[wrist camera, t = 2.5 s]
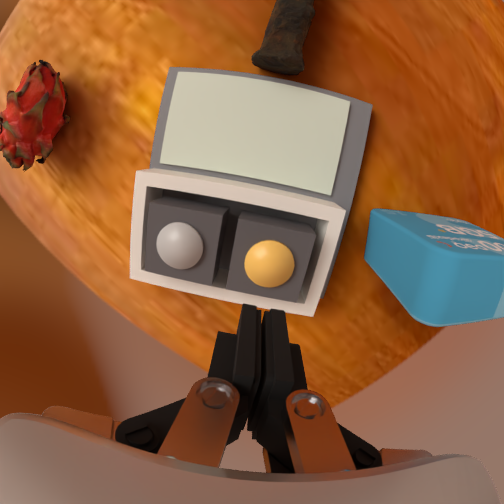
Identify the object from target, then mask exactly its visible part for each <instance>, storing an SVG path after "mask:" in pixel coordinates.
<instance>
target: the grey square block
mask: <svg viewBox="0 0 504 504" xmlns="http://www.w3.org/2000/svg"><path fill="white" fill-rule="evenodd" d="M228 211H229V207H225V206H220V205H215V204H209V203H204V202H198V201H192V200H187V199H181V198H175V197H169V196H164V197H161V198H159V199H156V200H154V201H152V202H149V212H148V223H147V237H146V255H145V271H147V272H151V273H155V274H159V275H163V276H168V277H172V278H176V279H181V280H185V281H190V282H194V283H199V284H203V285H208V286H212V284H213V282H214V279H215V277H216V274H217V272H218V270H219V264H220V258H221V252H222V246H223V240H224V234H225V228H226V222H227V216H228Z"/></svg>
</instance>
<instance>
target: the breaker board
mask: <svg viewBox="0 0 504 504" xmlns="http://www.w3.org/2000/svg"><path fill="white" fill-rule="evenodd" d="M371 110H372V104H369V103H366V102H363V101H361V100H358V99H355V98H352V97H349V96H346V95H342V94H339V93H336V92H332V91H329V90H325V89H322V88H318V87H314V86H310V85H306V84H302V83H298V82H294V81H289V80H284V79H279V78H274V77H269V76H263V75H257V74H250V73H243V72H235V71H226V70H216V69H203V68H183V67H170V68H169V72H168V75H167V79H166V83H165V88H164V92H163V96H162V101H161V105H160V110H159V115H158V120H157V125H156V131H155V136H154V142H153V148H152V154H151V161H150V168H149V169H145V170H138V171H136V177H135V186H134V196H133V208H132V222H131V243H130V278H131V279H135V280H138V281H142V282H146V283H150V284H154V285H158V286H162V287H166V288H171V289H175V290H179V291H183V292H188V293H192V294H196V295H201V296H205V297H210V298H215V299H219V300H224V301H229V302H234V303H239V304H243V303H244V304H249V305H255V306H257V307H259V308H265V309H271V308H272V309H278V310H284V311H285V312H287V313H293V314H299V315H305V316H311V317H313V316H314V313H315V310H316V307H317V304H318V301H319V298H323V297H324V294H325V291H326V288H327V285H328V282H329V279H330V276H331V273H332V270H333V267H334V264H335V261H336V257H337V254H338V251H339V247H340V244H341V241H342V237H343V234H344V230H345V227H346V223H347V219H348V216H349V212H350V208H351V204H352V200H353V196H354V192H355V188H356V184H357V180H358V176H359V171H360V167H361V162H362V158H363V153H364V148H365V143H366V138H367V133H368V128H369V122H370V116H371ZM164 196H169V197H175V198H181V199H187V200H192V201H198V202H204V203H209V204H215V205H220V206H225V207H229V211H228V216H227V222H226V228H225V234H224V240H223V246H222V252H221V258H220V264H219V270H218V272H217V274H216V277H215V279H214V282H213V284H212V286H208V285H203V284H199V283H194V282H190V281H185V280H181V279H176V278H172V277H168V276H163V275H159V274H155V273H151V272H147V271H145V255H146V237H147V223H148V212H149V202H152V201H154V200H156V199H159V198H161V197H164ZM242 210H246V211H251V212H256V213H261V214H266V215H271V216H275V217H280V218H285V219H289V220H294V221H299V222H303V223H308V224H310V226H311V227H312V229H313V231H314V232H315V234H316V238H315V242H314V245H313V249H312V252H311V256H310V260H309V263H308V267H307V270H306V273H305V277H304V280H303V284H302V287H301V290H300V294H299V297H298V300H297V303H294V302H289V301H283V300H278V299H272V298H267V297H262V296H257V295H252V294H246V293H241V292H236V291H232V290H227V289H226V285H227V279H228V273H229V268H230V262H231V256H232V251H233V245H234V240H235V234H236V229H237V224H238V218H239V216H240V214H241V212H242Z"/></svg>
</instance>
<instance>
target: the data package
mask: <svg viewBox="0 0 504 504" xmlns="http://www.w3.org/2000/svg"><path fill="white" fill-rule="evenodd" d="M364 259H365V261H366V262H367V263H368V264H369V266H370V267H371V268H372V269H373V270H374V271H375V273H376V274H377V275H378V276H379V277H380V278H381V280H382V281H383V282H384V283H385V284H386V286H387V287H388V288H389V289H390V290H391V292H392V293H393V294H394V295H395V297H396V298H397V299H398V300H399V302H400V303H401V304H402V305H403V307H404V308H405V309H406V310H407V312H408V313H409V314H410V315H411V316H412V317H413V318H414V319H415V320H417V321H419V322H420V323H423V324H425V325H428V326H433V327H443V326H451V325H459V324H466V323H473V322H479V321H485V320H491V319H497V318H502V317H504V239H503V238H501V237H499V236H497V235H495V234H493V233H490V232H488V231H486V230H484V229H482V228H480V227H478V226H476V225H473V224H471V223H469V222H466V221H463V220H459V219H455V218H449V217H443V216H436V215H429V214H421V213H414V212H406V211H397V210H389V209H373V210H371V213H370V221H369V229H368V236H367V242H366V249H365V255H364Z"/></svg>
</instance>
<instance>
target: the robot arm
mask: <svg viewBox="0 0 504 504" xmlns="http://www.w3.org/2000/svg"><path fill="white" fill-rule="evenodd" d="M247 418H248V424H247V430H248V431H252V439H256V440H257V442H258V443H259V444H260V445H262V446H263V458H264V464H265V469H266V473H261V472H249V471H239V470H231V469H223V468H219V466H220V463H221V460H222V457H223V454H224V451H225V448H226V446H227V445H228V444H230V443H232V442H234V441H235V440H237V439H238V438H239V435H240V432H241V430H243V429H244V427H245V424H246V421H247ZM0 504H502V503H501V500H500V497H499V495H498V492H497V489H496V487H495V485H494V482H493V480H492V478H491V476H490V475H489V473H488V471H487V469H486V468H485V466H484V465H483V463H482V462H481V461H480V460H478V459H477V458H475V457H472V456H468V455H459V454H445V455H437V456H432V454H431V453H429V452H428V451H425V450H402V449H384V448H382V449H381V450H380V451H378V450H377V449H376V448H375V447H373V446H372V445H371V444H369V443H367V442H366V441H364V440H362V439H361V438H360V437H358V436H356V435H355V434H353V433H352V432H350V431H349V430H347V429H346V428H344V427H342V426H341V425H340V424H338V423H337V422H336V419H335V417H334V415H333V412H332V410H331V407H330V405H329V403H328V401H327V400H326V399H325V398H324V397H323V396H322V395H321V394H319V393H317V392H315V391H311V390H308V389H307V383H306V377H305V372H304V366H303V361H302V355H301V350H300V346H299V345H298V344H292V343H289V337H288V330H287V323H286V316H285V311H284V310H278V309H272V308H271V309H270V312H268V311H265V312H264V316H263V320H262V323H261V310H257V306H255V305H249V304H244V303H243V305H242V310H241V315H240V319H239V324H238V329H237V334H230V333H225V332H220V331H218V334H217V338H216V343H215V347H214V351H213V356H212V360H211V364H210V369H209V373H208V377H207V378H203V379H201V380H199V381H197V382H196V383H195V384H194V385H193V386H192V388H191V390H190V392H189V393H188V395H187V397H186V398H184V399H181V400H179V401H176V402H174V403H171V404H169V405H166V406H164V407H161V408H158V409H155V410H153V411H150V412H147V413H144V414H142V415H138V416H135V417H132V418H129V419H127V420H125V421H123V422H119V421H114V419H113V418H111V417H105V416H100V415H95V414H91V413H86V412H82V411H77V410H73V409H70V408H65V407H62V406H53V407H49V408H48V409H46V410H45V411H44V413H43V414H42V416H41V415H36V414H27V413H14V414H9V415H7V416H5V417H3V418H1V419H0Z"/></svg>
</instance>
